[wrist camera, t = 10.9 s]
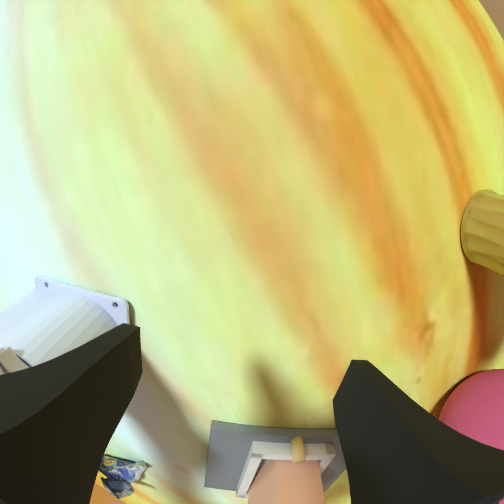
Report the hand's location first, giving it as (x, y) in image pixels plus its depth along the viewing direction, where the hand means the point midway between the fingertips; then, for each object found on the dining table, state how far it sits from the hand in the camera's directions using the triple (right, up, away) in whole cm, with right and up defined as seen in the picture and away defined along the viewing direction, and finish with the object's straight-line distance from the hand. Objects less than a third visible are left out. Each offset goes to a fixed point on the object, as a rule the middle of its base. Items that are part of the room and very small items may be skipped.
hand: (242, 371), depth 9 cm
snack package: (-19, -26, +18) cm, 37 cm away
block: (+3, -20, +14) cm, 25 cm away
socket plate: (+3, -20, +15) cm, 25 cm away
